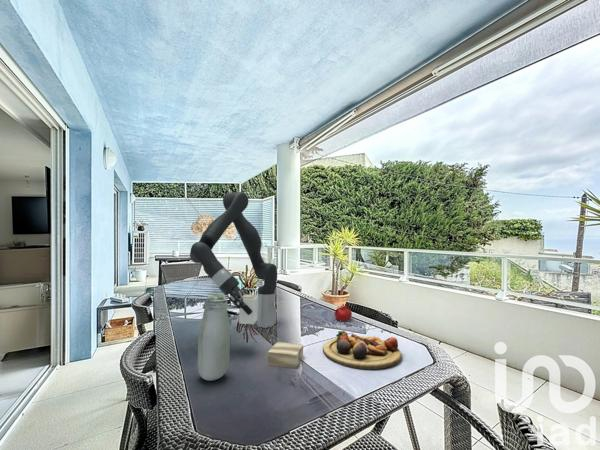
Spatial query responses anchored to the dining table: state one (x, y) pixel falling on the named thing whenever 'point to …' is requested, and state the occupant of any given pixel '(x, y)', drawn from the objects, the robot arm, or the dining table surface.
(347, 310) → the pomegranate
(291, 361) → the pale gold metal block
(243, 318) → the white square container
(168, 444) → the dining table surface
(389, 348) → the wooden plate with food
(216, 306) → the glass bottle
